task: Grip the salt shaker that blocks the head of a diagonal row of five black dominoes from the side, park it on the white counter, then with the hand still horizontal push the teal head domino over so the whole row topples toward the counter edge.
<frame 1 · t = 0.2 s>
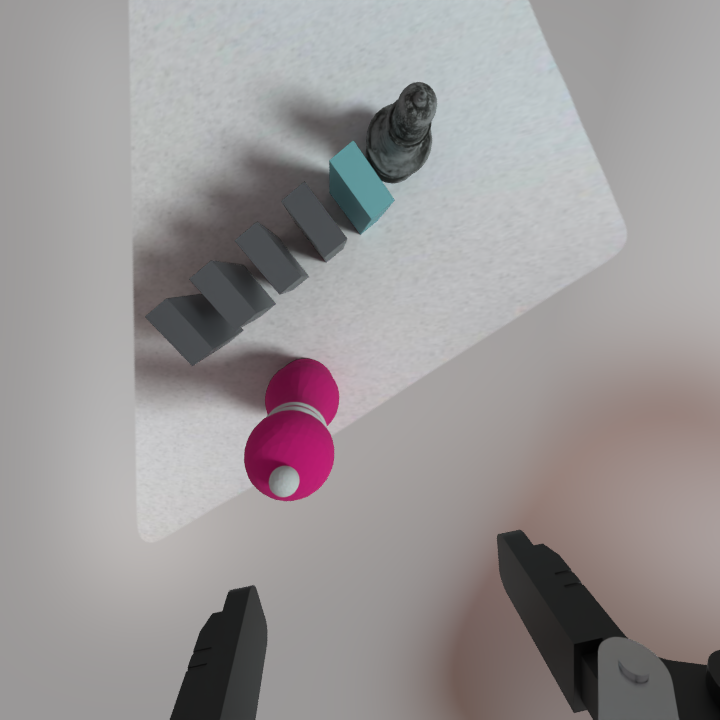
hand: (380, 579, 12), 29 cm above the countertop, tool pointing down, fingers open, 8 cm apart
domino 3: (285, 263, 37), on the countertop
domino 2: (319, 235, 36), on the countertop
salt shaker: (392, 154, 35), on the countertop
domino 4: (251, 291, 37), on the countertop
pepper mill: (305, 385, 40), on the countertop
domino 1: (353, 206, 36), on the countertop
domino 5: (219, 318, 37), on the countertop
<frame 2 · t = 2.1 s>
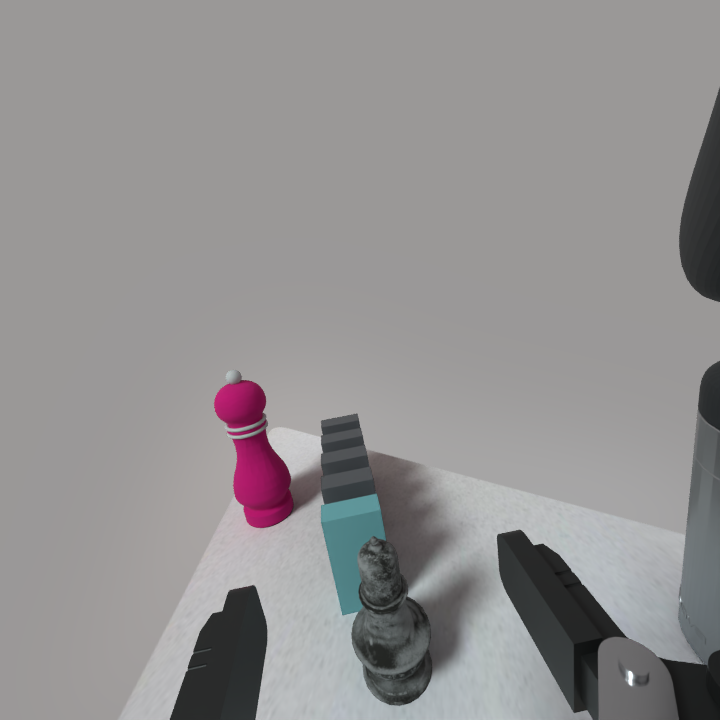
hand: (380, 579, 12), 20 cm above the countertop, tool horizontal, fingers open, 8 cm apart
domino 3: (358, 529, 42), on the countertop
domino 2: (362, 559, 37), on the countertop
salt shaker: (397, 665, 27), on the countertop
domino 4: (355, 504, 46), on the countertop
pepper mill: (270, 512, 48), on the countertop
domino 1: (368, 598, 33), on the countertop
domino 5: (352, 484, 50), on the countertop
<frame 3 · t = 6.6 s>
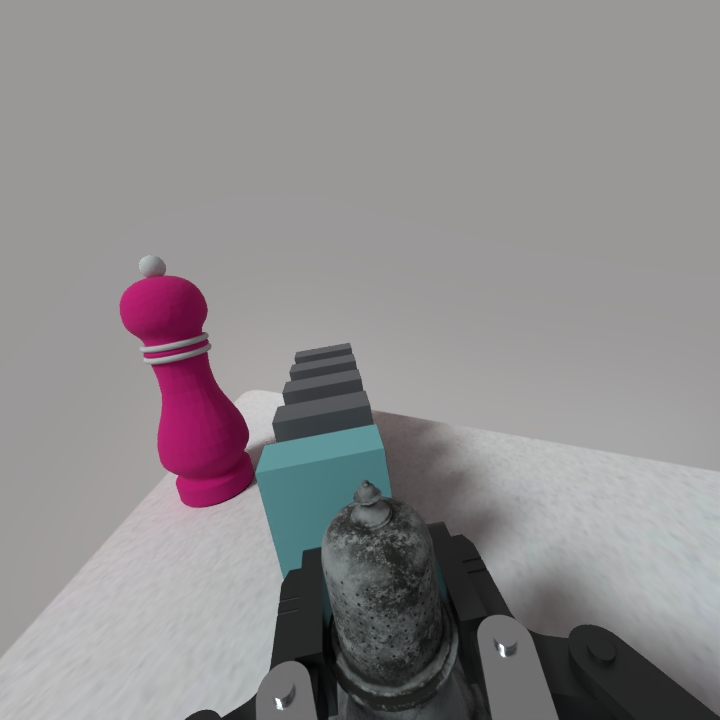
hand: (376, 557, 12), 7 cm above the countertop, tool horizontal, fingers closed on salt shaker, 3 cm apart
domino 3: (347, 509, 26), on the countertop
domino 2: (352, 557, 22), on the countertop
domino 4: (344, 474, 30), on the countertop
pepper mill: (219, 486, 32), on the countertop
domino 1: (359, 629, 17), on the countertop
domino 5: (342, 448, 35), on the countertop
when the fingers open (8 cm above the countertop, at t = 11.1 s): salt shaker stays where it is, on the countertop.
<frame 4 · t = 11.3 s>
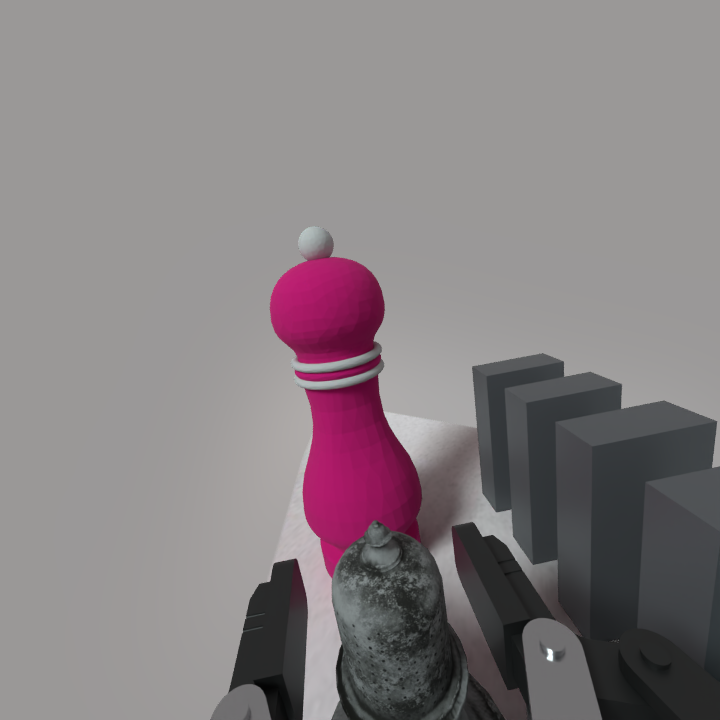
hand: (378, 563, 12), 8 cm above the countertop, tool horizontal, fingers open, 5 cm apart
domino 3: (622, 610, 17), on the countertop
domino 4: (562, 541, 21), on the countertop
pepper mill: (373, 553, 23), on the countertop
domino 5: (522, 495, 26), on the countertop
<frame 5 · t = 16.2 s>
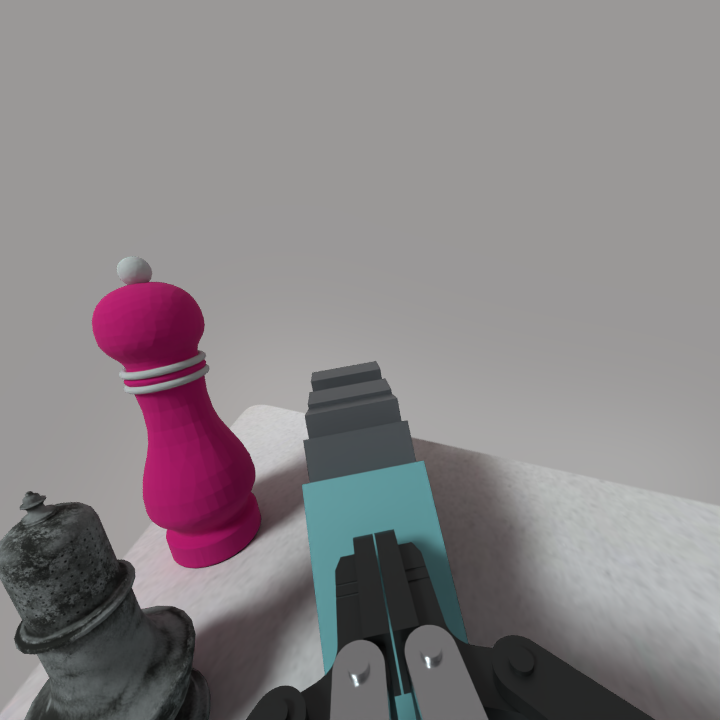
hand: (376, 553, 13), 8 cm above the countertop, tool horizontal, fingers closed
domino 3: (382, 575, 20), on the countertop, tilted 14°, touching domino 2, domino 4
domino 2: (396, 652, 16), on the countertop, tilted 26°, touching domino 3
domino 4: (373, 525, 25), on the countertop, touching domino 3
pepper mill: (219, 536, 26), on the countertop
domino 5: (366, 486, 29), on the countertop
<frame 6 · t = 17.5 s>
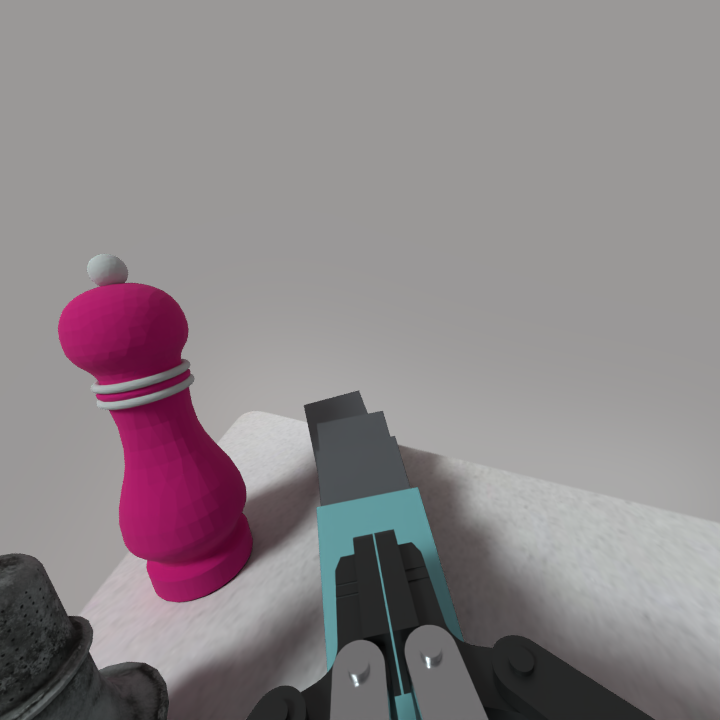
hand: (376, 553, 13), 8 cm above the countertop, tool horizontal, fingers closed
domino 3: (379, 567, 20), point 1 cm above the countertop, tilted 63°, touching domino 2, domino 4
domino 2: (394, 647, 16), point 1 cm above the countertop, tilted 63°, touching domino 1, domino 3
domino 4: (363, 508, 25), point 1 cm above the countertop, tilted 64°, touching domino 3, domino 5
pepper mill: (207, 563, 24), on the countertop
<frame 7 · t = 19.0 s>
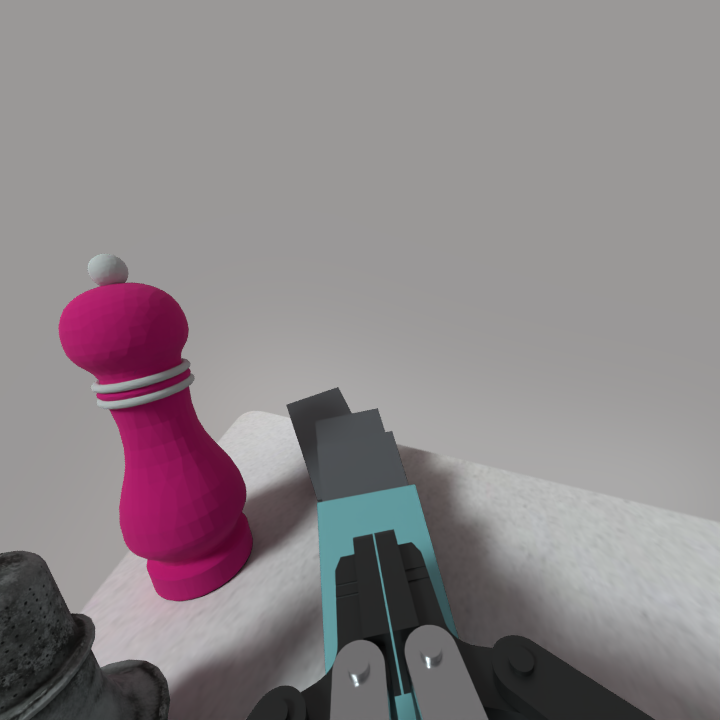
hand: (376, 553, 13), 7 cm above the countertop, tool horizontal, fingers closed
domino 3: (375, 552, 21), point 1 cm above the countertop, tilted 65°, touching domino 2, domino 4
domino 2: (391, 625, 16), point 1 cm above the countertop, tilted 65°, touching domino 3
domino 4: (352, 494, 26), point 1 cm above the countertop, tilted 65°, touching domino 3, domino 5
pepper mill: (207, 562, 24), on the countertop
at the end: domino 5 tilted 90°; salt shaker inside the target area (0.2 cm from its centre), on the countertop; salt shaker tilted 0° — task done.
